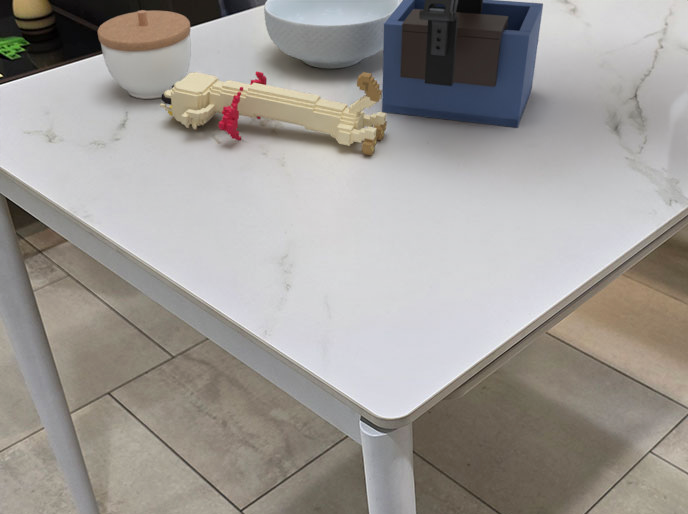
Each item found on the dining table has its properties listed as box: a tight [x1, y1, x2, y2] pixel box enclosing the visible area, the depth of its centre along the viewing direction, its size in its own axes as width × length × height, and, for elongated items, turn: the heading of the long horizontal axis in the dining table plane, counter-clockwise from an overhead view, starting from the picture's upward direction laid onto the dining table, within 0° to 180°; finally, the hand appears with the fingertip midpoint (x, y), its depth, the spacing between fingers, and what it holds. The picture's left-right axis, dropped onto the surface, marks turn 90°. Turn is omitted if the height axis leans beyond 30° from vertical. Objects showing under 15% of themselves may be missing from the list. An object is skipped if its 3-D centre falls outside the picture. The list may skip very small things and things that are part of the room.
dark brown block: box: [400, 9, 508, 87], centre depth 89 cm, size 10×5×6 cm, turn 69°
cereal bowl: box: [263, 0, 401, 69], centre depth 107 cm, size 17×17×7 cm
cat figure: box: [159, 71, 388, 156], centre depth 90 cm, size 10×9×25 cm
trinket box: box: [97, 9, 192, 100], centre depth 101 cm, size 11×11×9 cm
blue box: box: [381, 0, 544, 128], centre depth 94 cm, size 15×10×10 cm, turn 69°
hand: (453, 58), depth 90 cm, fingers open, 13 cm apart
